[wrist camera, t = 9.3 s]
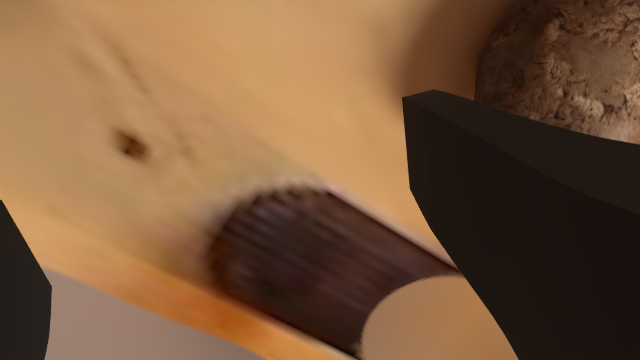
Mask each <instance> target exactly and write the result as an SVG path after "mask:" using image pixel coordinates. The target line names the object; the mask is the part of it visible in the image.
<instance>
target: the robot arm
mask: <svg viewBox="0 0 640 360" xmlns="http://www.w3.org/2000/svg"><path fill="white" fill-rule="evenodd" d="M402 102H403V114H404V126H405V138H406V149H407V161H408V173H409V185H410V190H411V192H412V194H413V196H414V198H415V200H416V202H417V204H418V206H419V208H420V210H421V212H422V214H423V216H424V218H425V220H426V221H427V223H428V225H429V227H430V229H431V230H432V232H433V233H434V235H435V236H436V238H437V239H438V240H439V242H440V243H441V245H442V246H443V248H444V249H445V250H446V252H447V253H448V255H449V256H450V257H451V259H452V260H453V262H454V263H455V264H456V266H457V267H458V269H459V270H460V271H461V273H462V274H463V276H464V277H465V278H466V280H467V281H468V282H469V283H470V285H471V286H472V288H473V289H474V291H475V292H476V293H477V295H478V296H479V298H480V299H481V300H482V302H483V303H484V305H485V306H486V307H487V309H488V310H489V312H490V313H491V314H492V316H493V317H494V319H495V320H496V322H497V324H498V325H499V327H500V328H501V330H502V331H503V333H504V334H505V336H506V338H507V339H508V341H509V343H510V345H511V346H512V348H513V350H514V352H515V354H516V355H517V357H518V359H519V360H640V144H634V143H629V142H624V141H618V140H613V139H607V138H602V137H598V136H593V135H589V134H584V133H580V132H576V131H572V130H568V129H565V128H561V127H557V126H553V125H549V124H546V123H542V122H539V121H535V120H532V119H529V118H525V117H522V116H519V115H516V114H513V113H509V112H506V111H503V110H500V109H497V108H494V107H491V106H488V105H485V104H482V103H479V102H476V101H473V100H470V99H467V98H464V97H460V96H457V95H454V94H450V93H447V92H443V91H438V90H430V91H426V92H422V93H418V94H414V95H410V96H406V97H402ZM51 292H52V286H51V285H50V283H49V281H48V279H47V278H46V276H45V274H44V272H43V271H42V269H41V267H40V265H39V264H38V262H37V260H36V259H35V257H34V255H33V253H32V252H31V250H30V248H29V246H28V245H27V243H26V241H25V240H24V238H23V236H22V234H21V233H20V231H19V229H18V227H17V226H16V224H15V222H14V221H13V219H12V217H11V215H10V214H9V212H8V210H7V208H6V207H5V205H4V203H3V202H2V200H0V360H44V359H45V354H46V350H47V344H48V339H49V331H50V316H51Z"/></svg>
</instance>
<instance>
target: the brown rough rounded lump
mask: <svg viewBox="0 0 640 360" xmlns="http://www.w3.org/2000/svg"><path fill="white" fill-rule="evenodd" d="M474 101H476V102H479V103H482V104H485V105H488V106H491V107H494V108H497V109H500V110H503V111H506V112H509V113H513V114H516V115H519V116H522V117H525V118H529V119H532V120H535V121H539V122H542V123H546V124H549V125H553V126H557V127H561V128H565V129H568V130H572V131H576V132H580V133H584V134H589V135H593V136H598V137H602V138H607V139H613V140H618V141H624V142H629V143H634V144H640V0H519V1H518V2H517V3H516V4H515V5H514V6H513V7H512V8H511V9H510V10H509V11H508V13H507V14H506V15H505V16H504V17H503V18H502V19H501V20H500V21H499V23H498V24H497V26H496V28H495V29H494V31H493V33H492V34H491V36H490V38H489V39H488V41H487V43H486V44H485V46H484V48H483V49H482V51H481V53H480V54H479V56H478V58H477V66H476V80H475V94H474Z"/></svg>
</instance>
